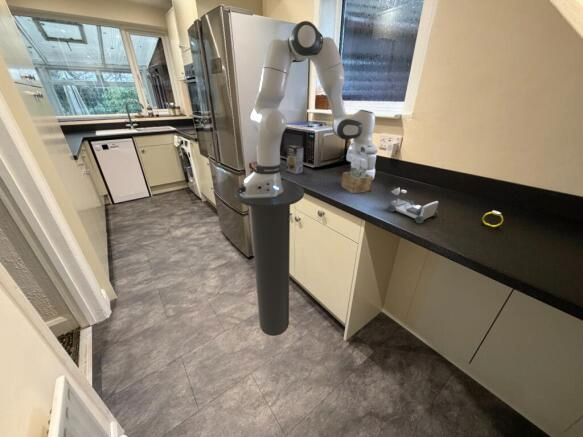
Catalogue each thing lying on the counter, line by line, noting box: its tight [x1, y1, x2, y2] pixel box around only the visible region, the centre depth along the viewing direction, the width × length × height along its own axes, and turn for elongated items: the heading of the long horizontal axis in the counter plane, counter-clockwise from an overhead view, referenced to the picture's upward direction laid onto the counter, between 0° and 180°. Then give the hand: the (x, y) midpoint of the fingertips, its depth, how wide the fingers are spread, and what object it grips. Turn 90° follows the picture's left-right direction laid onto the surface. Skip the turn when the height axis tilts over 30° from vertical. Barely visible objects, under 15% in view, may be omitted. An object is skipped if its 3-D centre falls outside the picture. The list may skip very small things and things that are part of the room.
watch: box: [481, 210, 504, 228], centre depth 90 cm, size 6×3×6 cm, turn 48°
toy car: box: [388, 186, 439, 224], centre depth 98 cm, size 18×10×12 cm
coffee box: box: [286, 144, 304, 175], centre depth 148 cm, size 9×6×16 cm
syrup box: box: [349, 157, 365, 178], centre depth 121 cm, size 6×6×14 cm
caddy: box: [340, 171, 374, 194], centre depth 123 cm, size 11×11×8 cm
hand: (357, 173), depth 121 cm, fingers closed on syrup box, 6 cm apart
